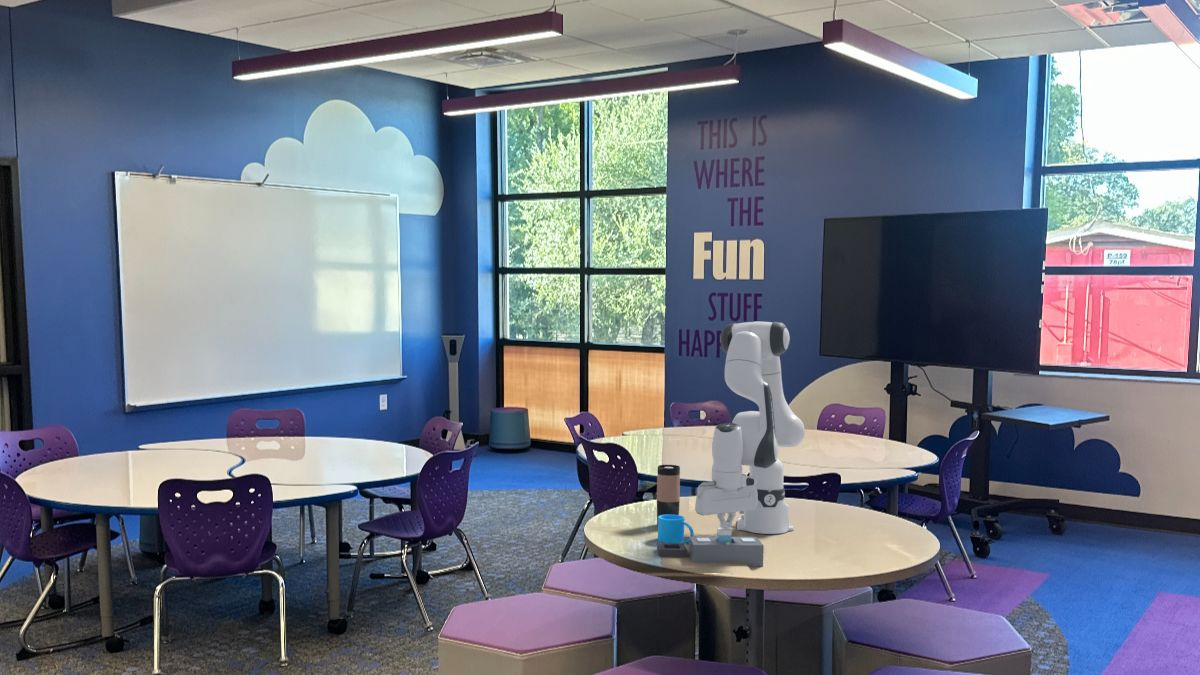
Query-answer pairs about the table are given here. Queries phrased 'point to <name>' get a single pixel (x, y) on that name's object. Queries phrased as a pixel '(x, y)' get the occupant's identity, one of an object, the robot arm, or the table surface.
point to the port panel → (726, 550)
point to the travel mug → (668, 490)
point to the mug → (672, 529)
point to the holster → (672, 549)
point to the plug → (724, 535)
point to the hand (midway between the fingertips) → (726, 527)
